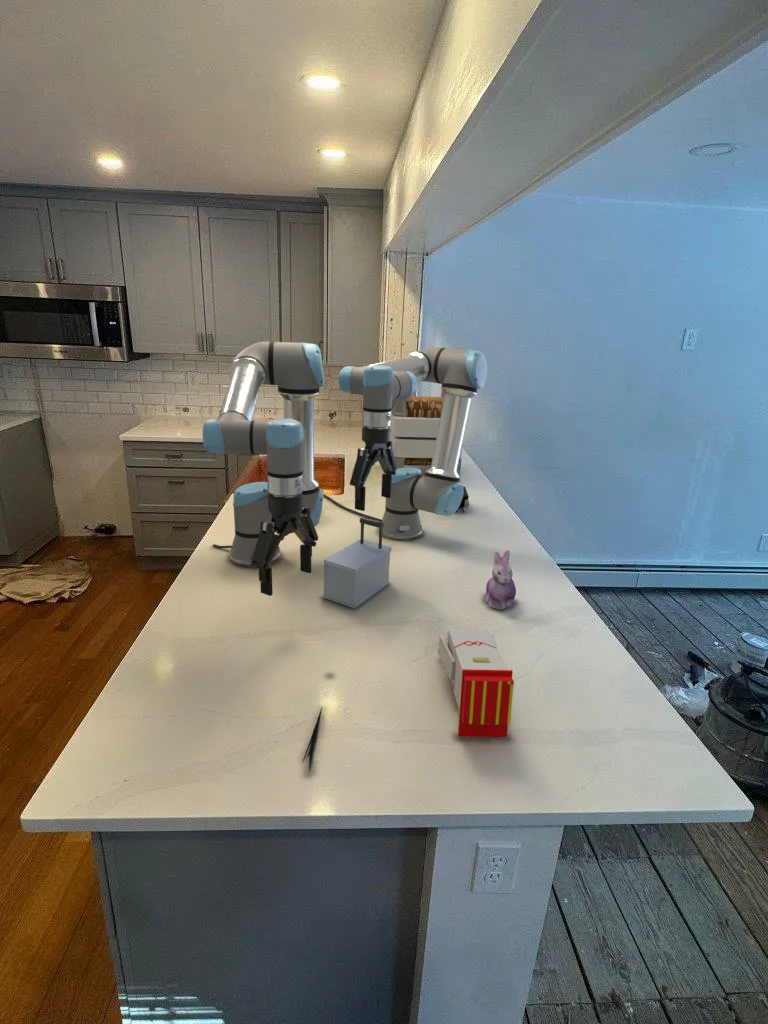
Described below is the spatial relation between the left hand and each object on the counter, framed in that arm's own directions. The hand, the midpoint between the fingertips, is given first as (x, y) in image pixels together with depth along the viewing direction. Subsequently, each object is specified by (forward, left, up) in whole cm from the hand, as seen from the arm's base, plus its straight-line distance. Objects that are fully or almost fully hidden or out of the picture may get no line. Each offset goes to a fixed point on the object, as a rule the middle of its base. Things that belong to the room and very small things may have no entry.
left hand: (287, 582), depth 128 cm
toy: (+43, +7, -15) cm, 47 cm away
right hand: (-1, +37, +9) cm, 38 cm away
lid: (-1, +31, -5) cm, 31 cm away
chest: (-1, +30, -15) cm, 34 cm away
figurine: (+35, +48, -15) cm, 61 cm away
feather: (+23, -18, -15) cm, 33 cm away
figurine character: (-7, +113, -15) cm, 114 cm away
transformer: (-43, +149, -15) cm, 156 cm away
